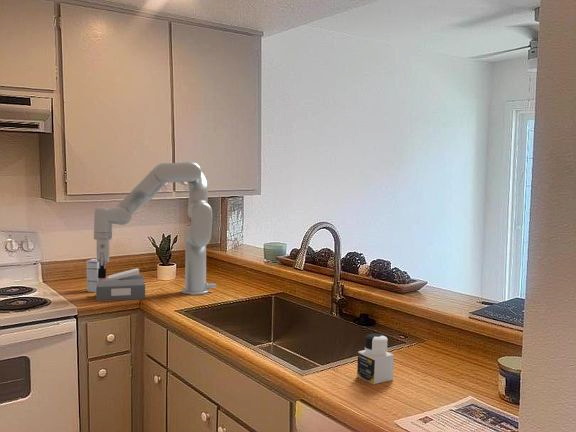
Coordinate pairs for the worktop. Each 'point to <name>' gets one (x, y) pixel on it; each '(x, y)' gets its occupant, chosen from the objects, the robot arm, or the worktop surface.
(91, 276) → the syrup box
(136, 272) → the rocker switch
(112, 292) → the breaker box
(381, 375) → the medicine bottle
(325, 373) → the worktop surface
